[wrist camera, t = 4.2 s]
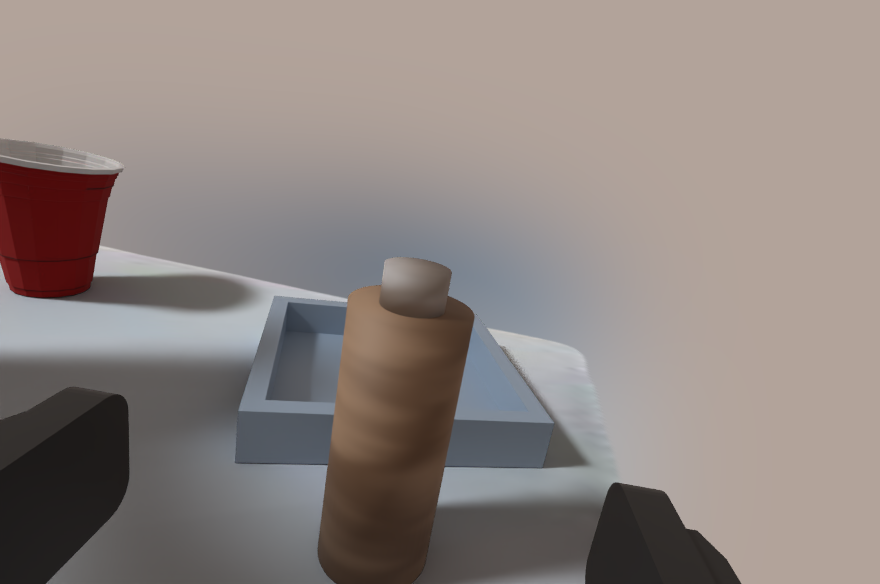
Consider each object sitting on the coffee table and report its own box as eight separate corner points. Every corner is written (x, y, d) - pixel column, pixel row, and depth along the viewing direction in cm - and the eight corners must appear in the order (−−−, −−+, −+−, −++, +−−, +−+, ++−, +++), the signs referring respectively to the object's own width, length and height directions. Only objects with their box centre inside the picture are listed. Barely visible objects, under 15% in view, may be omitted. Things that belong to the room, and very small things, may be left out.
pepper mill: (315, 597, 21) (355, 280, 17) (318, 509, 25) (350, 243, 21) (435, 592, 22) (499, 294, 18) (417, 509, 27) (464, 257, 23)
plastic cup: (115, 310, 43) (112, 165, 39) (-54, 308, 38) (-75, 144, 35) (134, 271, 52) (132, 151, 49) (0, 265, 48) (-12, 133, 44)
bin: (235, 462, 28) (237, 410, 27) (271, 330, 44) (274, 295, 43) (542, 467, 32) (554, 423, 31) (470, 345, 48) (476, 314, 48)
